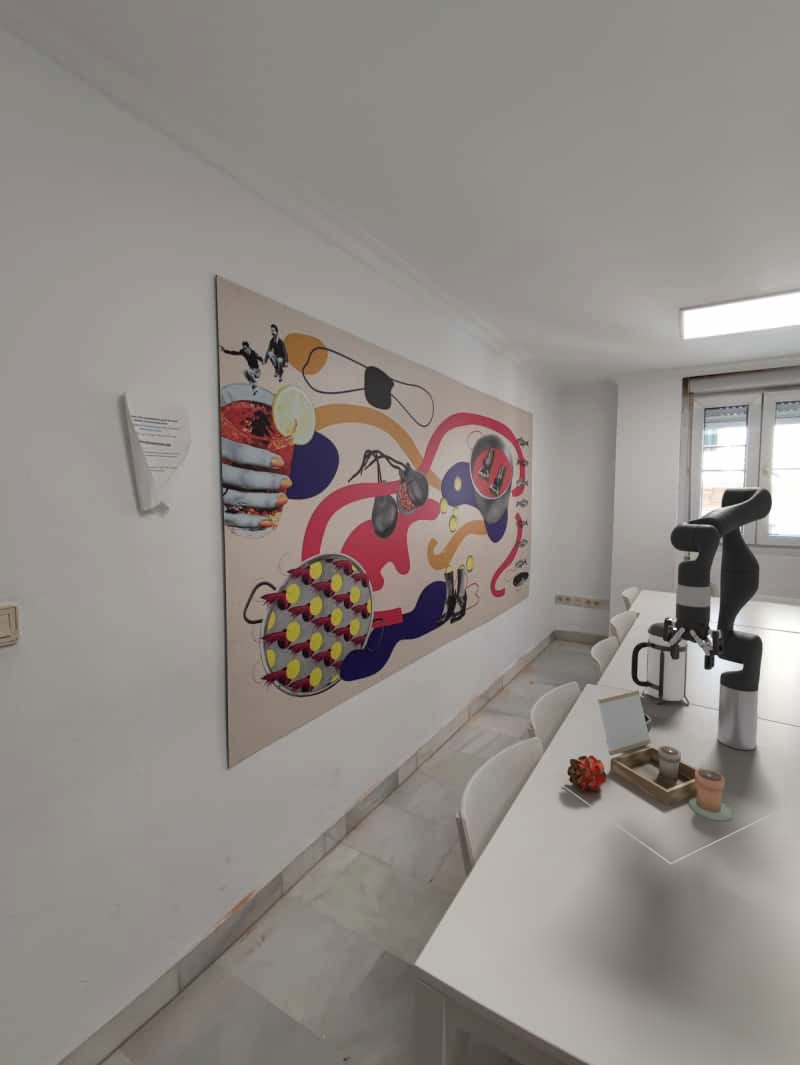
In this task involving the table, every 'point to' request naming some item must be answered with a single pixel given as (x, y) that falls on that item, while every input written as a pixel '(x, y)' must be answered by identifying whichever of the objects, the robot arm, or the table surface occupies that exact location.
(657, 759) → the box
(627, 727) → the lid
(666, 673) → the coffee press
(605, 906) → the table surface
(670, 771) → the grey pot
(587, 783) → the dragon fruit
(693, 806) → the saucer
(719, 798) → the terracotta pot
